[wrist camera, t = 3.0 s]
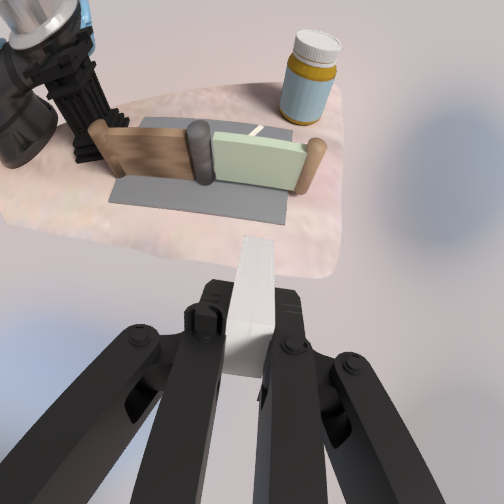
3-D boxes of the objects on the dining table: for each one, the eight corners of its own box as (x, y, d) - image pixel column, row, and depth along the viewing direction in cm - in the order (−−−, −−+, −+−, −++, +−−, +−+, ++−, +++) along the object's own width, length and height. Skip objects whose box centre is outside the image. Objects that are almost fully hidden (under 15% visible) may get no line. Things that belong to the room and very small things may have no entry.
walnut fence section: (112, 177, 35) (84, 134, 26) (117, 164, 36) (92, 119, 27) (212, 187, 36) (206, 137, 26) (216, 172, 36) (212, 120, 27)
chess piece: (77, 163, 36) (18, 76, 17) (89, 127, 39) (46, 41, 20) (119, 157, 37) (69, 54, 18) (129, 120, 39) (95, 23, 20)
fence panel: (215, 182, 35) (211, 136, 26) (218, 169, 35) (215, 122, 27) (307, 195, 35) (327, 154, 26) (307, 182, 35) (326, 139, 27)
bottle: (292, 131, 40) (313, 53, 26) (271, 103, 42) (283, 29, 27) (327, 122, 41) (355, 51, 27) (305, 96, 43) (324, 27, 29)
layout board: (109, 202, 35) (108, 201, 34) (145, 118, 39) (144, 116, 39) (284, 225, 35) (285, 223, 34) (292, 132, 40) (292, 129, 39)
